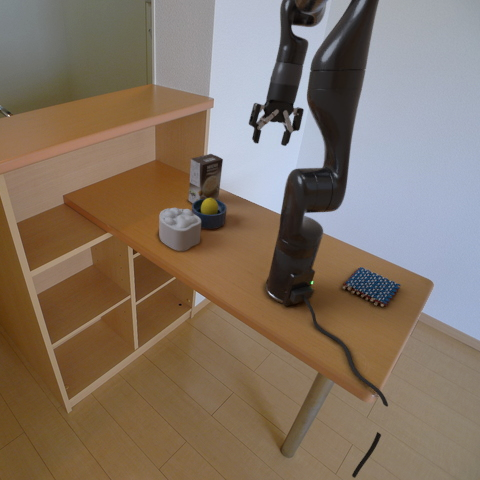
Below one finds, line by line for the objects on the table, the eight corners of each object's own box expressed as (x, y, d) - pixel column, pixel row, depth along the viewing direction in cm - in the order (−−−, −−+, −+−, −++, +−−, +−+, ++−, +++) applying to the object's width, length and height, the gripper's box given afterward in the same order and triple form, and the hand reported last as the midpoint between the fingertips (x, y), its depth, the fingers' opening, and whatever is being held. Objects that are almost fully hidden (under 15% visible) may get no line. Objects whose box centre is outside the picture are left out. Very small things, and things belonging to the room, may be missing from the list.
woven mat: (357, 270, 98) (359, 264, 97) (399, 289, 92) (402, 283, 91) (340, 288, 92) (342, 282, 91) (383, 310, 86) (386, 304, 85)
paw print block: (179, 253, 104) (180, 228, 99) (151, 234, 112) (150, 210, 107) (204, 240, 110) (206, 215, 105) (175, 223, 118) (175, 199, 113)
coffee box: (199, 208, 126) (201, 165, 117) (188, 200, 130) (189, 158, 121) (219, 200, 130) (223, 158, 121) (207, 194, 134) (211, 152, 125)
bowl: (231, 226, 116) (232, 211, 113) (199, 233, 113) (200, 218, 110) (215, 210, 125) (216, 196, 121) (186, 216, 122) (186, 201, 118)
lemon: (216, 224, 116) (218, 202, 111) (199, 222, 117) (200, 201, 112) (217, 215, 120) (219, 194, 116) (201, 214, 121) (202, 193, 117)
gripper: (265, 80, 91) (251, 145, 98) (316, 86, 93) (299, 149, 101) (254, 78, 97) (241, 139, 105) (302, 84, 100) (286, 143, 107)
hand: (269, 144), depth 103 cm, fingers open, 8 cm apart
